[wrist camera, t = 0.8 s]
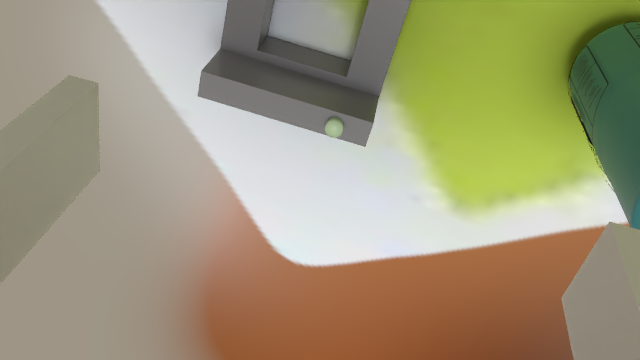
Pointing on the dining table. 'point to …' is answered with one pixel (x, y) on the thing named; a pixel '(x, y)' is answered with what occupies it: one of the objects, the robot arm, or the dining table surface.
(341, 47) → the dining table surface
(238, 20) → the port
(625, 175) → the beverage bottle
